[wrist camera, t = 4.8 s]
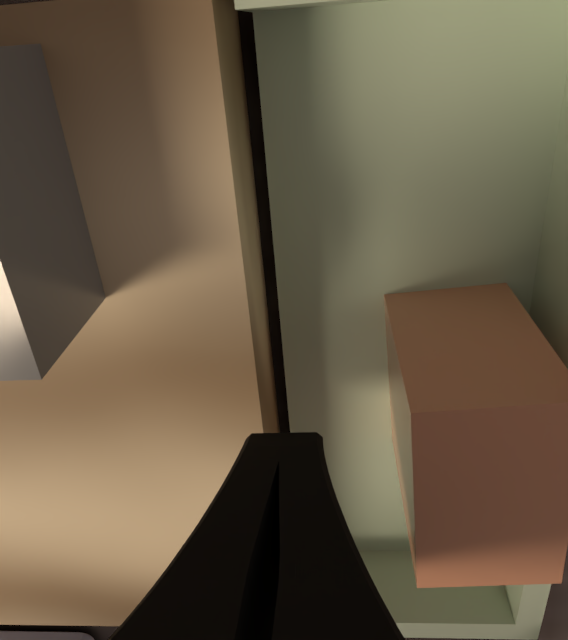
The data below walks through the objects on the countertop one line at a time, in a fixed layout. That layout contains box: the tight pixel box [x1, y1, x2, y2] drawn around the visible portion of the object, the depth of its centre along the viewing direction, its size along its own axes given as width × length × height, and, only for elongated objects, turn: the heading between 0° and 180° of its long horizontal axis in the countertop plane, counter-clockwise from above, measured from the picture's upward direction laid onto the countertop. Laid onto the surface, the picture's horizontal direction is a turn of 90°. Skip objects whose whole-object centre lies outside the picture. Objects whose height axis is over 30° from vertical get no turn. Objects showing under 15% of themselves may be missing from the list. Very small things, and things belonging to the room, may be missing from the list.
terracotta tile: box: [384, 283, 568, 588], centre depth 11 cm, size 4×4×2 cm
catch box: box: [234, 0, 568, 640], centre depth 11 cm, size 15×6×2 cm, turn 4°
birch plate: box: [0, 0, 280, 626], centre depth 12 cm, size 14×8×2 cm, turn 4°
